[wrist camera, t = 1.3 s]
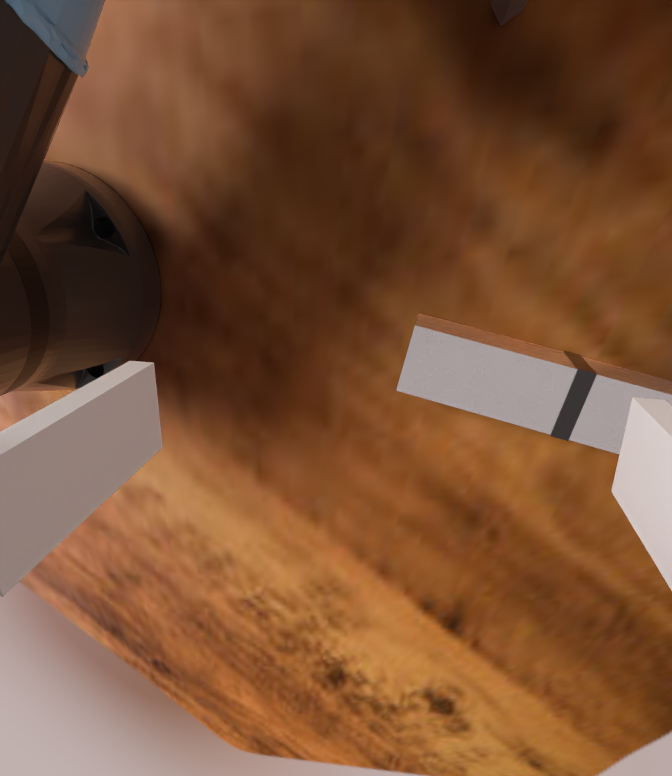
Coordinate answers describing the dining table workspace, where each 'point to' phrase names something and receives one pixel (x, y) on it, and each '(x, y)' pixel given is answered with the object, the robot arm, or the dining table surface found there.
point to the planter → (507, 9)
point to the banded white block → (524, 382)
